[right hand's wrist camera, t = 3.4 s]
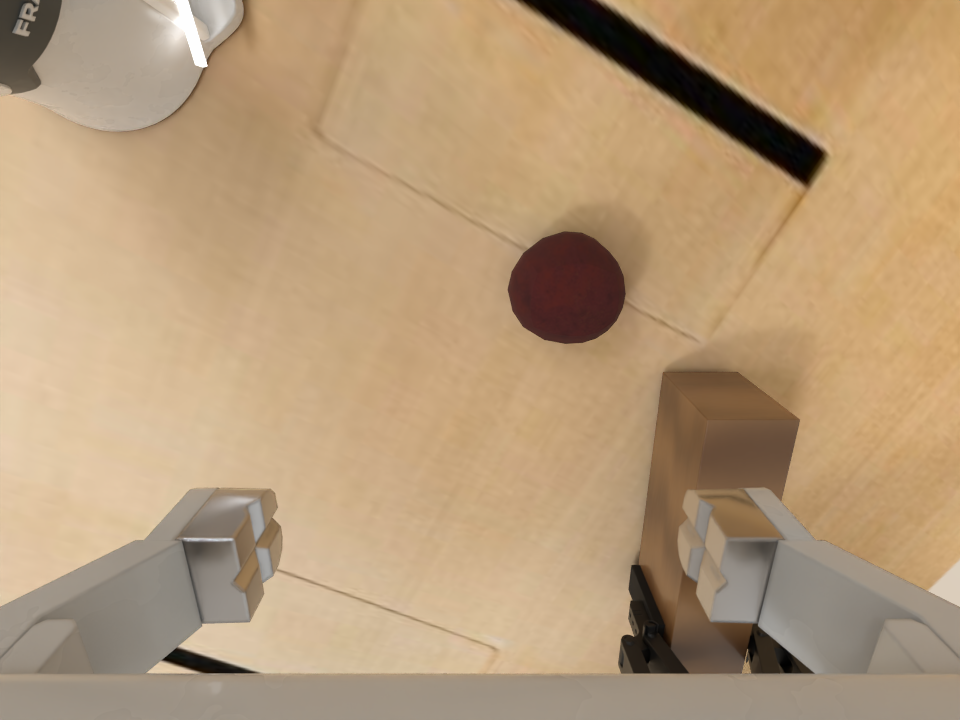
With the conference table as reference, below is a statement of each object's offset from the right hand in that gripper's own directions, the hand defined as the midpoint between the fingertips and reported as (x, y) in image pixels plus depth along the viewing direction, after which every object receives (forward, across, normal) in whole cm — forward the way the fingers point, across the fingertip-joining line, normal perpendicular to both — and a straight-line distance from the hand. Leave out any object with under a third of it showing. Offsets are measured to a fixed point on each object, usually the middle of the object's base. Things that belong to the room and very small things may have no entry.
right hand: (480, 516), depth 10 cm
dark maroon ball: (+30, +6, -1) cm, 30 cm away
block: (+29, +17, -20) cm, 39 cm away
